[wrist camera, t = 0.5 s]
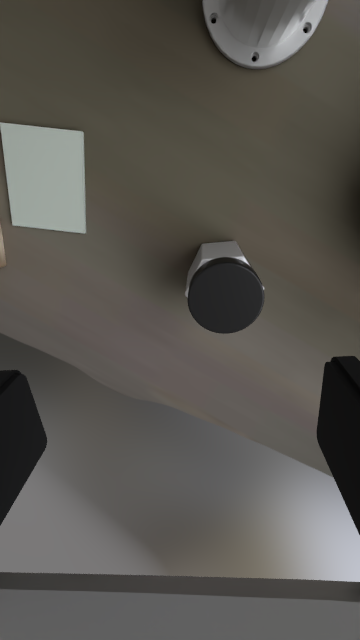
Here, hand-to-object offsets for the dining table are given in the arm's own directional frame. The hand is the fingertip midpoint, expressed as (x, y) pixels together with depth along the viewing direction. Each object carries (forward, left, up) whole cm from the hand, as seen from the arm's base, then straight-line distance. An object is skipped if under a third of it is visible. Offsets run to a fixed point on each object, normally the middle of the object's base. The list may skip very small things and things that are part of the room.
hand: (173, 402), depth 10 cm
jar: (+5, +4, -35) cm, 36 cm away
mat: (-4, -20, -35) cm, 41 cm away
